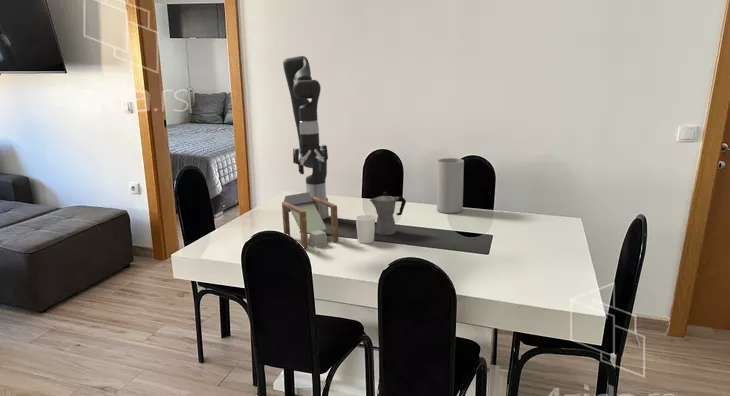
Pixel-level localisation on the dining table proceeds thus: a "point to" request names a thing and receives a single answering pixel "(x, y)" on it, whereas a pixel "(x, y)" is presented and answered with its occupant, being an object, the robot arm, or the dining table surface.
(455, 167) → the cylinder vase
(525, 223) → the dining table surface
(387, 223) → the coffeepot
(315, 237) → the gray cube
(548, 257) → the dining table surface
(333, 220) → the frame
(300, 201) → the trapdoor
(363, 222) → the white cup
